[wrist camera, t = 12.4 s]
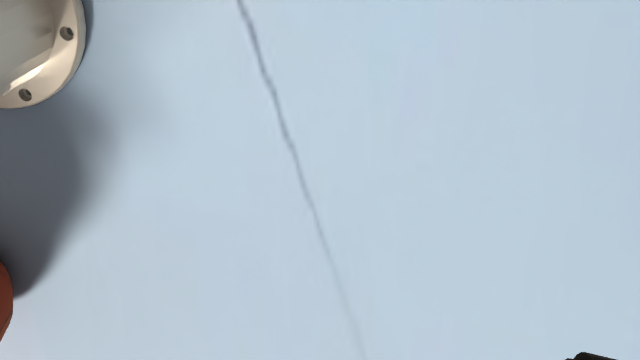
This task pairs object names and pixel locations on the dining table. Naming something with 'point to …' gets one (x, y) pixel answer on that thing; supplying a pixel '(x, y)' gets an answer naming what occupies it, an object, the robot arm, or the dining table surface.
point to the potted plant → (5, 300)
